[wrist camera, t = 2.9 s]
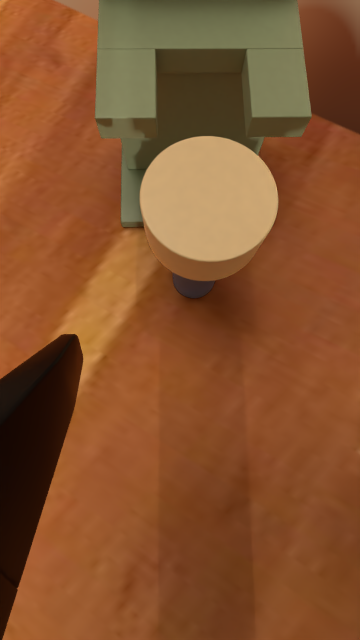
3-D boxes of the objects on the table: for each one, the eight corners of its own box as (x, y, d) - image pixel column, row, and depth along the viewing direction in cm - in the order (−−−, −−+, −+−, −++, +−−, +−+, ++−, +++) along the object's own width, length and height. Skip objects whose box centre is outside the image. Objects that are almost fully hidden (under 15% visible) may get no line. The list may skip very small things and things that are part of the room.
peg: (205, 329, 22) (233, 288, 11) (140, 288, 22) (111, 214, 12) (245, 267, 23) (303, 177, 12) (182, 229, 23) (187, 113, 13)
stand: (260, 225, 23) (363, 44, 11) (122, 227, 23) (57, 45, 10) (253, 136, 25) (336, -116, 12) (123, 137, 25) (68, -119, 12)
